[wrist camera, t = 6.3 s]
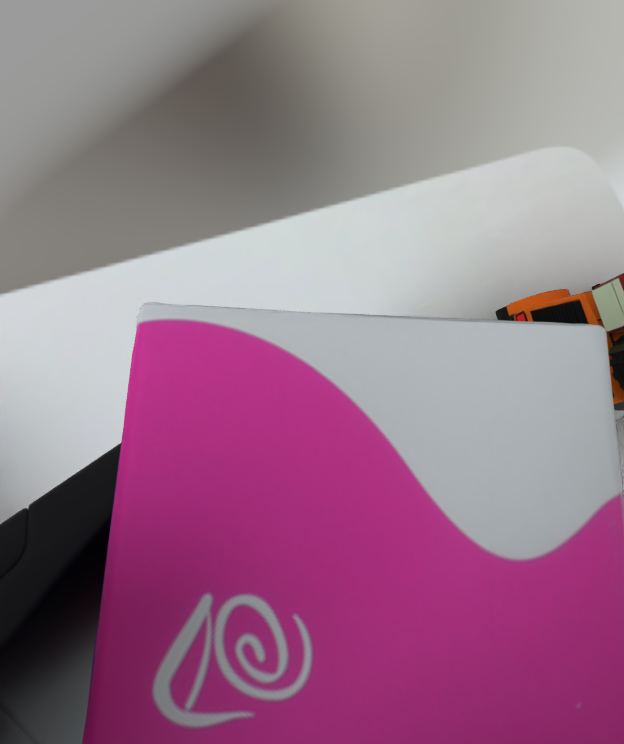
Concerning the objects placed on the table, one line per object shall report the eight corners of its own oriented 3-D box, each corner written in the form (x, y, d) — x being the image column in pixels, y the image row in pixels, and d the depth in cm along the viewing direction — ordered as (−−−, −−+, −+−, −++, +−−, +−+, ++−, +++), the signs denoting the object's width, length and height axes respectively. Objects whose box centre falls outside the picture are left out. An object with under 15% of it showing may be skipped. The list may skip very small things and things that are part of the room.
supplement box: (241, 400, 15) (130, 275, 4) (384, 407, 16) (640, 311, 4) (229, 553, 14) (29, 963, 3) (383, 556, 15) (725, 928, 3)
